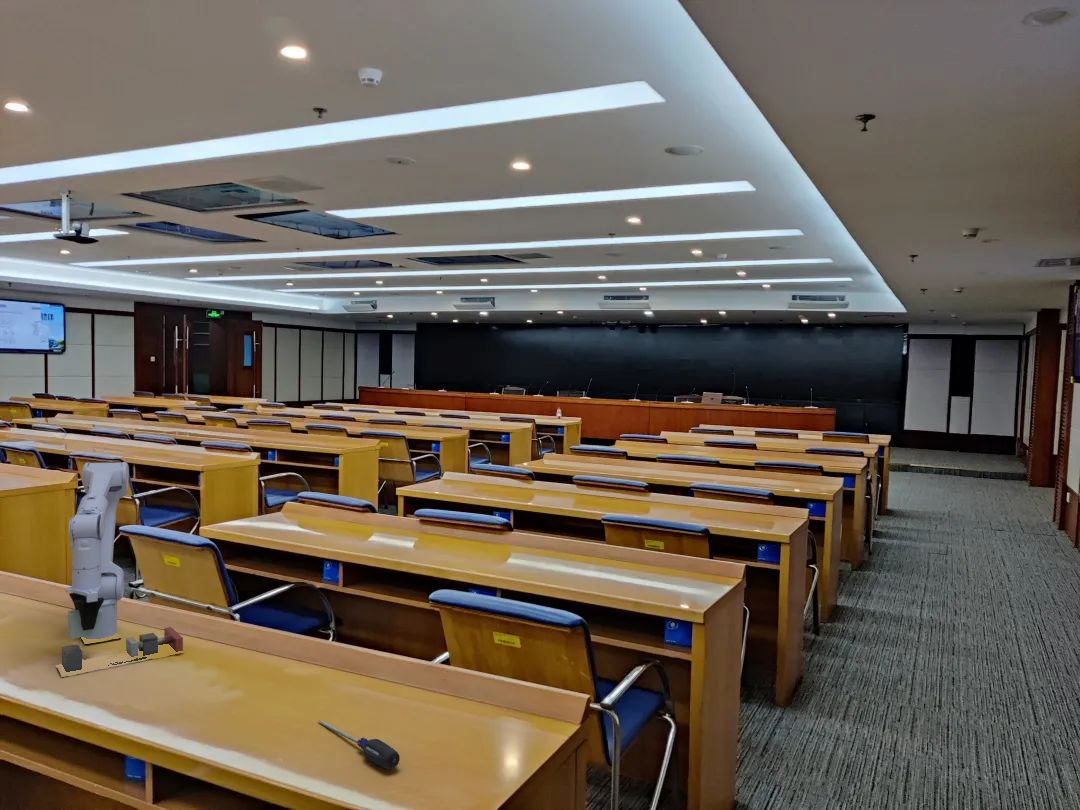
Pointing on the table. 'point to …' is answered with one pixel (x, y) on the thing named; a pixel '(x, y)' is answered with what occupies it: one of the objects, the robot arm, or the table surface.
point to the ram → (169, 638)
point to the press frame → (74, 662)
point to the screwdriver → (372, 749)
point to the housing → (76, 627)
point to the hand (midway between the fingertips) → (86, 626)
